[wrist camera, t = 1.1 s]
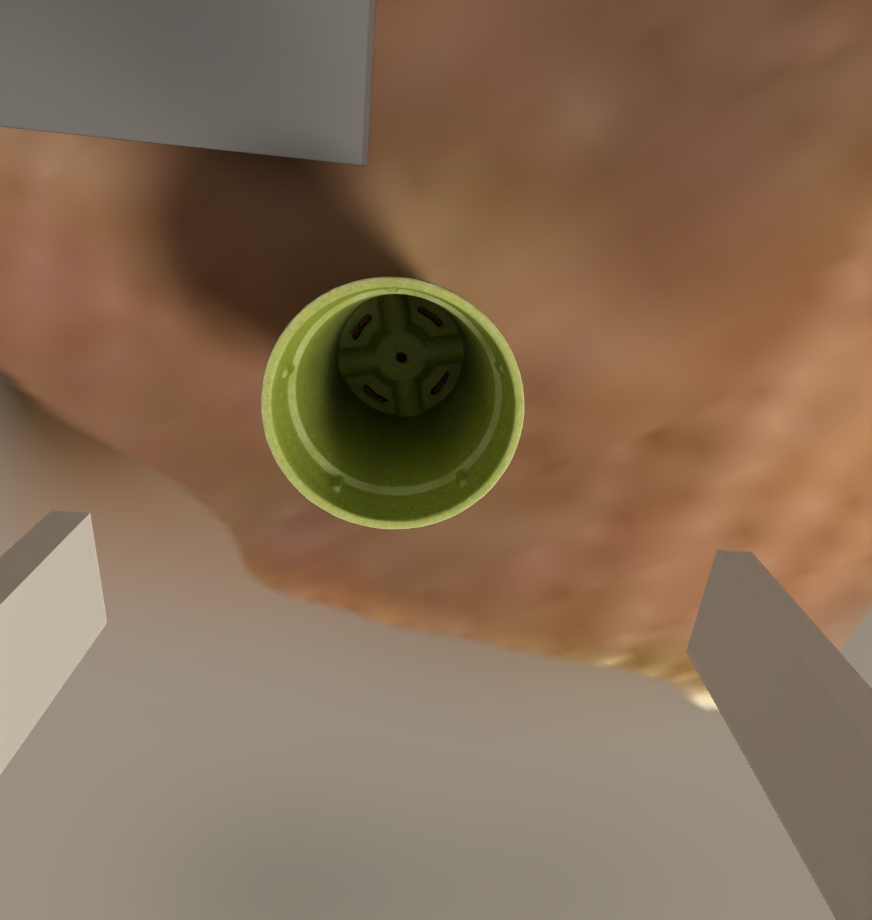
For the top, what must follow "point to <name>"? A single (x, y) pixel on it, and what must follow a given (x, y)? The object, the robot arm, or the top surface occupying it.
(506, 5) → the top surface
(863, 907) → the robot arm
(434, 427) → the plant pot
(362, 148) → the board
